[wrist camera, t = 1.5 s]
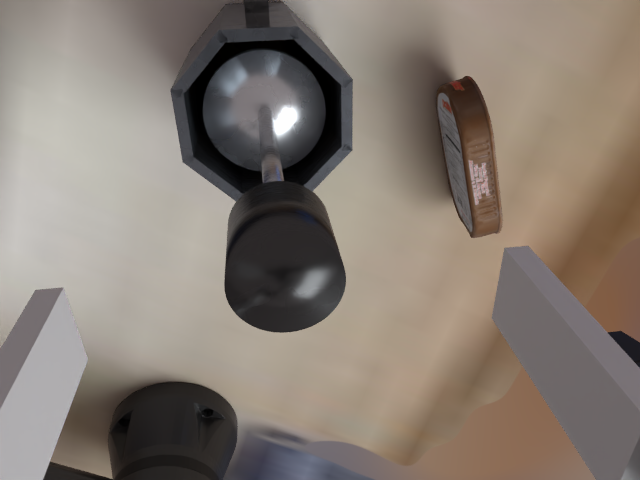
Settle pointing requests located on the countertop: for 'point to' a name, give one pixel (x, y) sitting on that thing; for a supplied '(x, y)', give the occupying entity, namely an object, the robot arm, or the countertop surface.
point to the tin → (470, 156)
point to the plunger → (274, 192)
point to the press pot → (250, 33)
